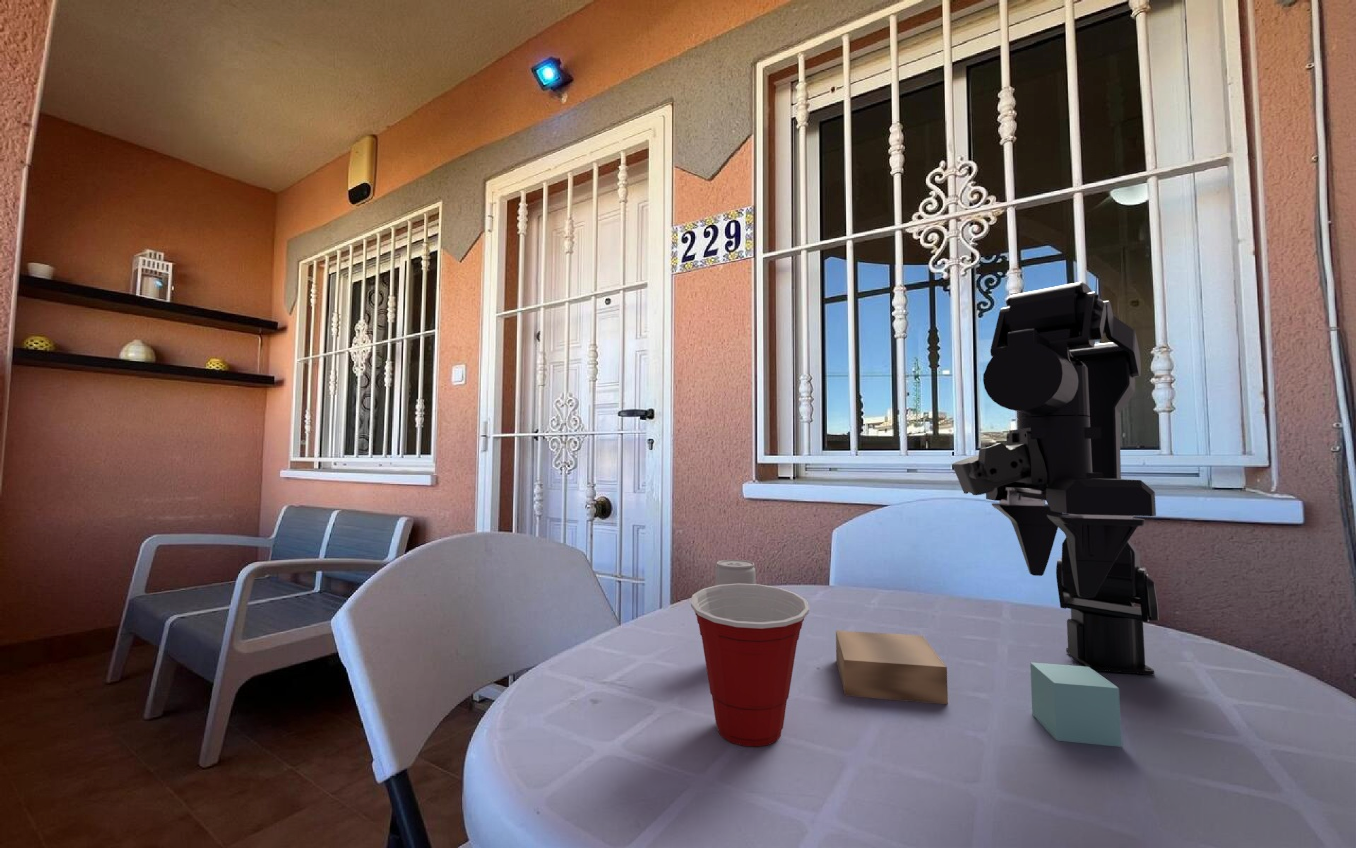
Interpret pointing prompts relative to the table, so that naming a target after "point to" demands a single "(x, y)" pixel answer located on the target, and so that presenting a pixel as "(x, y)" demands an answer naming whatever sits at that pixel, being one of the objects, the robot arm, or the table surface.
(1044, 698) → the teal cube
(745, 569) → the beverage can
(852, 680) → the light brown wooden block
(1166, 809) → the table surface
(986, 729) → the table surface
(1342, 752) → the table surface
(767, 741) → the plastic cup
